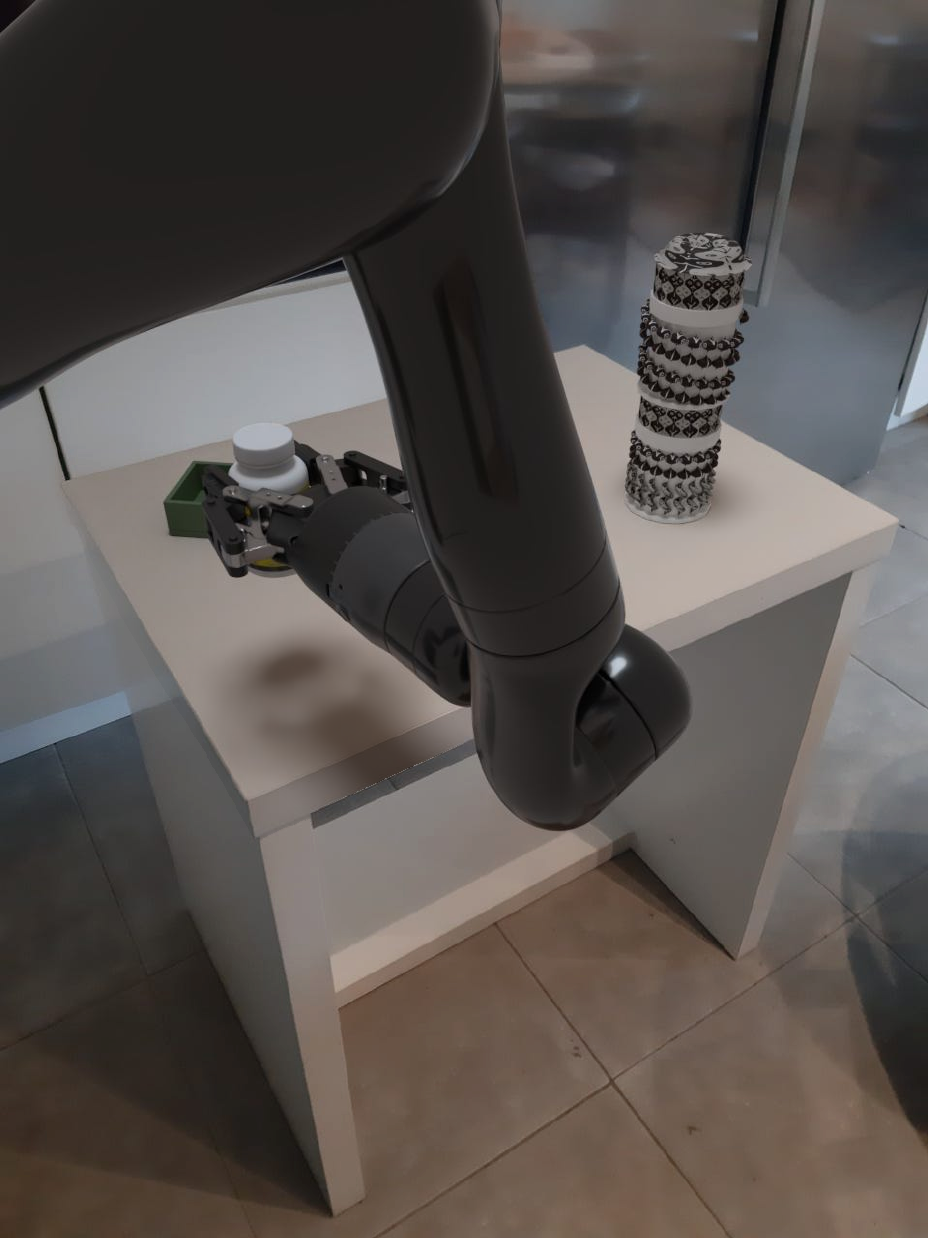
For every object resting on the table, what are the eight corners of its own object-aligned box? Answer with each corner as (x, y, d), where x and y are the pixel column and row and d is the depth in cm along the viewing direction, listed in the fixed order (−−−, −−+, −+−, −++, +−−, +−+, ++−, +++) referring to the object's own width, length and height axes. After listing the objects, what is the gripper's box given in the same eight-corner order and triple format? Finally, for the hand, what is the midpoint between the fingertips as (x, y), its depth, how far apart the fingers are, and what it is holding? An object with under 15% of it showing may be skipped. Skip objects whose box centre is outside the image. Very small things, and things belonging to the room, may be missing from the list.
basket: (252, 541, 91) (247, 507, 89) (169, 535, 92) (162, 501, 89) (276, 497, 97) (272, 465, 95) (199, 492, 98) (193, 460, 96)
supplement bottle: (236, 545, 72) (217, 422, 66) (309, 534, 73) (297, 412, 67) (245, 586, 68) (226, 458, 62) (323, 573, 69) (311, 447, 63)
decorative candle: (649, 469, 102) (681, 218, 87) (730, 497, 97) (780, 238, 82) (601, 504, 96) (627, 242, 81) (686, 536, 92) (730, 265, 76)
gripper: (484, 480, 59) (333, 387, 69) (274, 562, 52) (141, 445, 62) (482, 582, 63) (340, 481, 74) (288, 671, 56) (162, 544, 67)
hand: (250, 465), depth 68 cm, fingers closed on supplement bottle, 5 cm apart
